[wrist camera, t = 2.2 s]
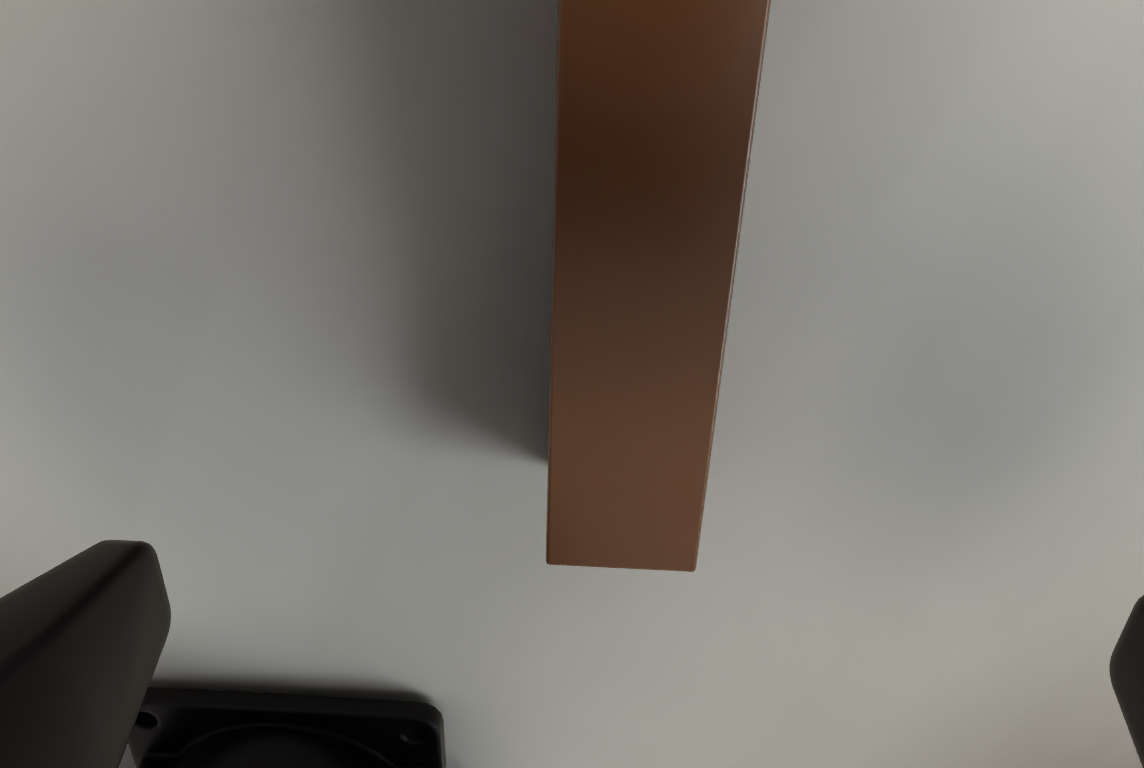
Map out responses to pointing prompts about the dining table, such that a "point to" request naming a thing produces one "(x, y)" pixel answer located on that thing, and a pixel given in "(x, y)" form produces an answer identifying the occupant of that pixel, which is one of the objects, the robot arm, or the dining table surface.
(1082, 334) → the dining table surface
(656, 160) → the spatula
